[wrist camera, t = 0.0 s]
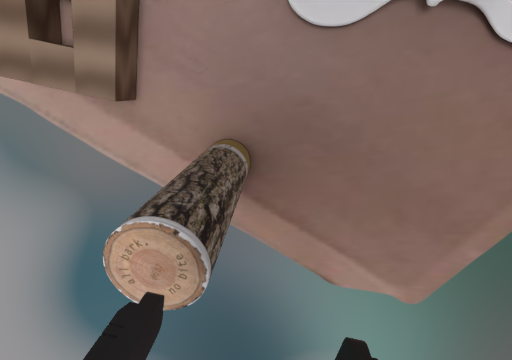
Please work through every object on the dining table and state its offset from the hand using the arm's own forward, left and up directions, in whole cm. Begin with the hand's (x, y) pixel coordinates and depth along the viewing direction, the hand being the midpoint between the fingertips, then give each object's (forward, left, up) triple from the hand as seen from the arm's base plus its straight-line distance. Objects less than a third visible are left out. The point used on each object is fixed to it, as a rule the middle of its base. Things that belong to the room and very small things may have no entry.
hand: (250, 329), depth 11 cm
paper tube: (+2, -6, -30) cm, 30 cm away
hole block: (-12, -29, -29) cm, 43 cm away
